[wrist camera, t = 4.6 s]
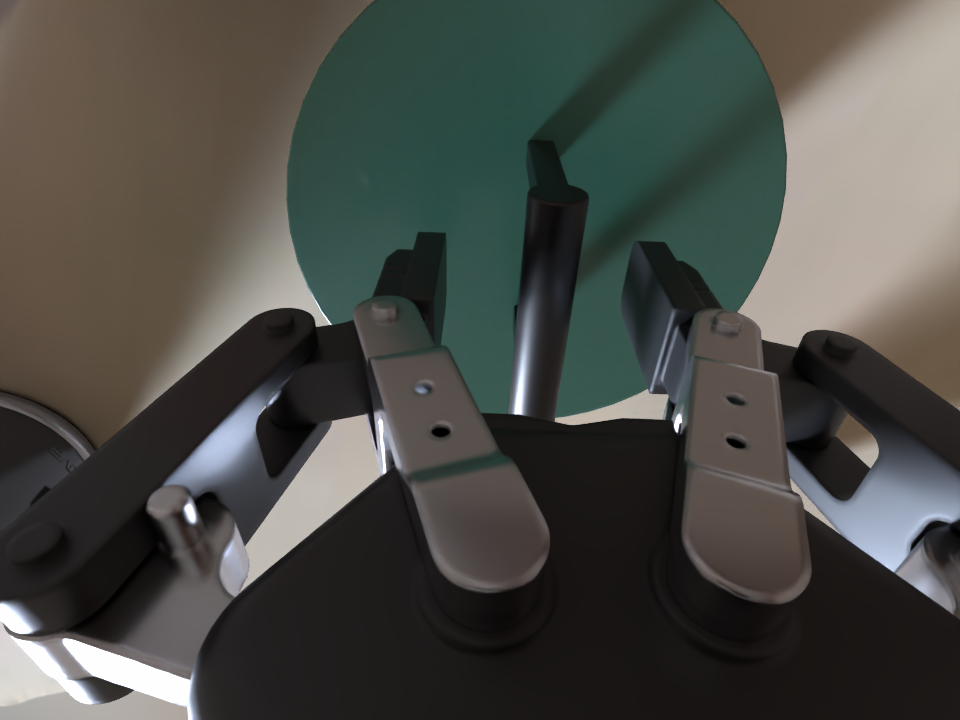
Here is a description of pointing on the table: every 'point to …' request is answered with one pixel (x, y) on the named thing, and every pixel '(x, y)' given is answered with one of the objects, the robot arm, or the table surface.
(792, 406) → the robot arm
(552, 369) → the pot lid
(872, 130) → the table surface
